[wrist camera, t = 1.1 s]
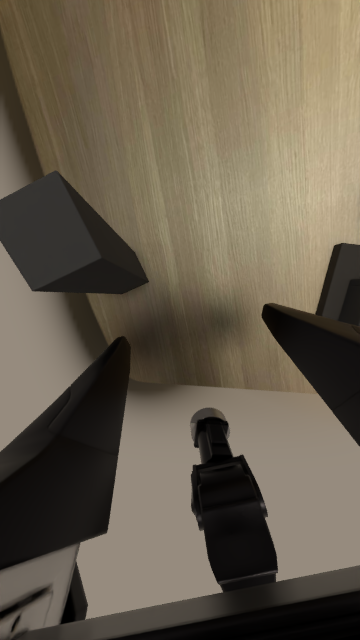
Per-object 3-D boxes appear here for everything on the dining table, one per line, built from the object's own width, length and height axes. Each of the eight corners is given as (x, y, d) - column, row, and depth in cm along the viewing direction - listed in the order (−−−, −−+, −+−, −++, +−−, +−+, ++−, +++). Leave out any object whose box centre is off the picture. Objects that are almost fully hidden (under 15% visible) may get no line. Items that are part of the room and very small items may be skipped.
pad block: (148, 281, 20) (102, 257, 7) (121, 294, 20) (31, 291, 8) (134, 252, 20) (55, 168, 7) (107, 265, 20) (-21, 209, 7)
